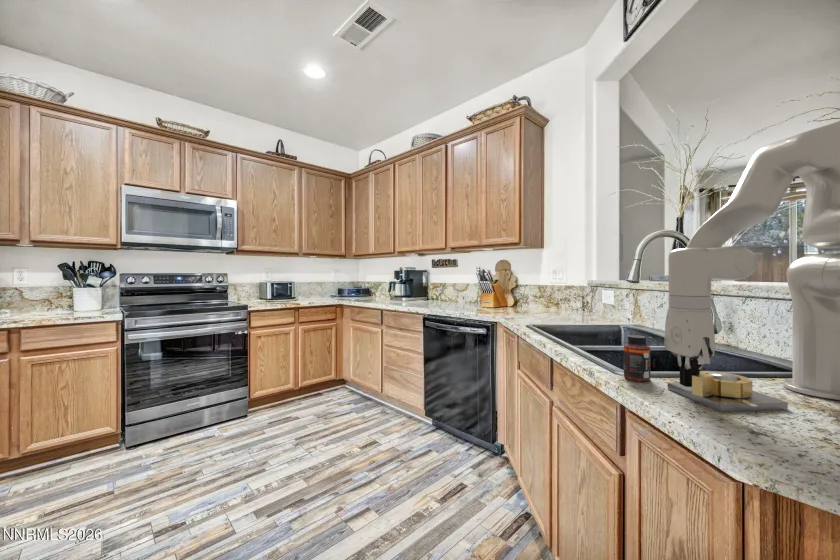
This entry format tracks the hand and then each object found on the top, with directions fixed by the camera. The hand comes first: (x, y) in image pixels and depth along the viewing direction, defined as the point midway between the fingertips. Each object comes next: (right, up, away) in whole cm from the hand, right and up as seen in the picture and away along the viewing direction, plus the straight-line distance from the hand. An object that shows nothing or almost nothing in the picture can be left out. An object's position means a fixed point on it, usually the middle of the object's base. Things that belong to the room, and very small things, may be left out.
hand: (689, 385), depth 77 cm
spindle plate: (+6, -3, -1) cm, 7 cm away
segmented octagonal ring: (+4, -1, -2) cm, 5 cm away
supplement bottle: (-3, -3, +13) cm, 14 cm away
